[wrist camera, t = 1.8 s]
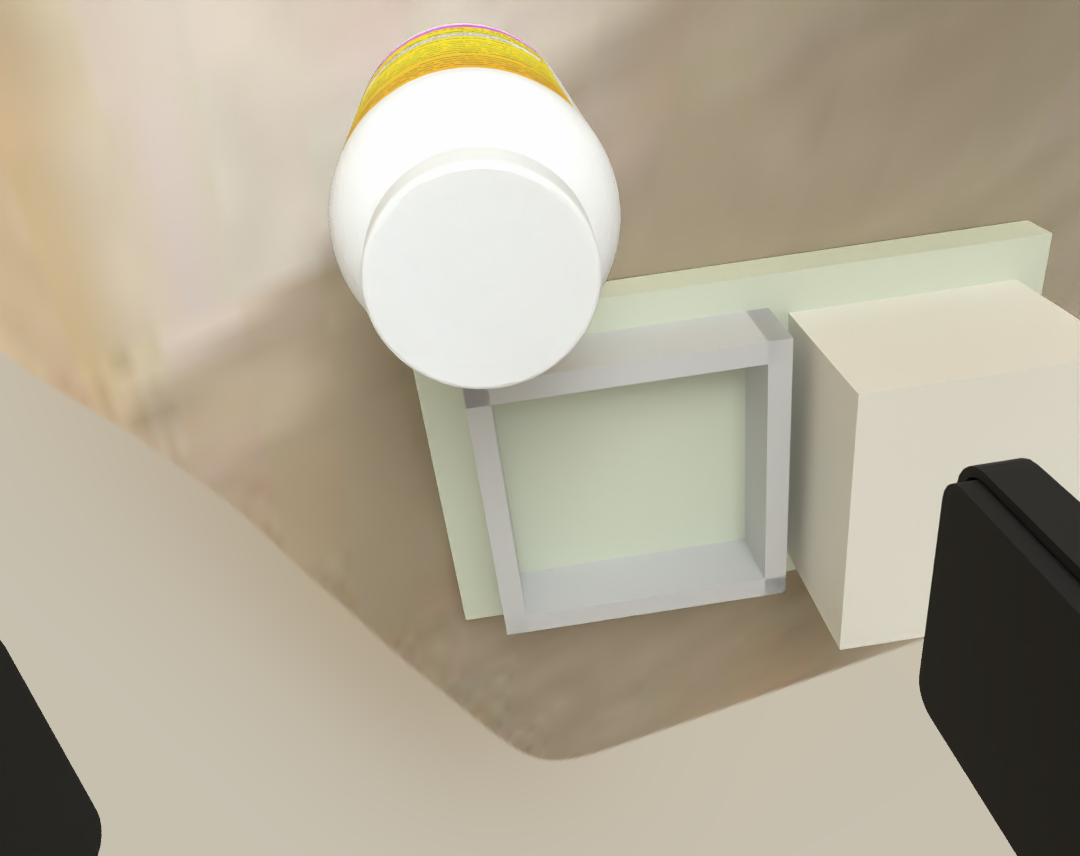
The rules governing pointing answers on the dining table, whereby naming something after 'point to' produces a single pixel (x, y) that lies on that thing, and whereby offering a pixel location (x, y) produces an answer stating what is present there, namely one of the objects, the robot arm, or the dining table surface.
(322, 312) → the dining table surface
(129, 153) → the dining table surface
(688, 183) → the dining table surface
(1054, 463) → the square frame tray
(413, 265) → the supplement bottle
